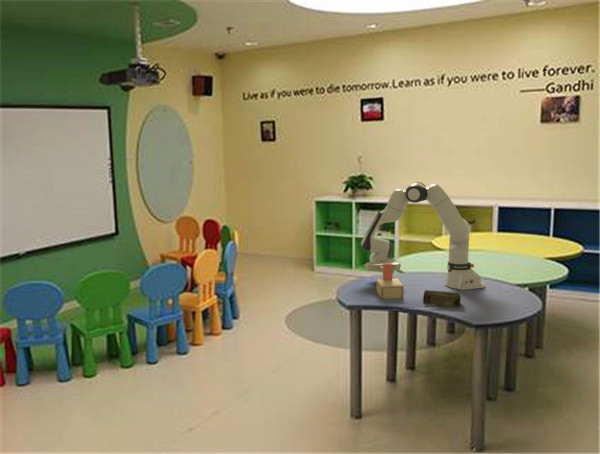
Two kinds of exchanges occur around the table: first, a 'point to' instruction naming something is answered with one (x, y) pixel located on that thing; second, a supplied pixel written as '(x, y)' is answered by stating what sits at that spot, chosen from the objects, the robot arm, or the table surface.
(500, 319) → the table surface
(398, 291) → the mailer box
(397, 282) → the lid
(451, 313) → the table surface
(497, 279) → the table surface
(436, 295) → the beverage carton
